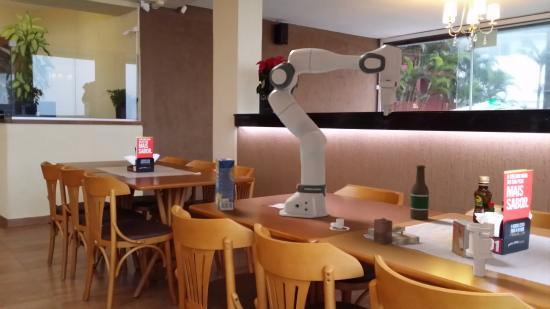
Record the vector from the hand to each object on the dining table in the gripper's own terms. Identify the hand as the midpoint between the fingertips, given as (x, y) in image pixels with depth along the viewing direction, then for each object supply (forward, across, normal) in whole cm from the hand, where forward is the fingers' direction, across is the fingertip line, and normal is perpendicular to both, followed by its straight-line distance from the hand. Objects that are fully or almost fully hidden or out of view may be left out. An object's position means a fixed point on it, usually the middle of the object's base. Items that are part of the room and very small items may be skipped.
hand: (387, 114), depth 210 cm
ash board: (+41, +43, +11) cm, 60 cm away
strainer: (+35, +78, +38) cm, 94 cm away
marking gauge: (+40, +48, +11) cm, 64 cm away
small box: (+38, +56, +35) cm, 76 cm away
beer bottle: (+46, -1, +17) cm, 49 cm away
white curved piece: (+44, +31, -10) cm, 55 cm away
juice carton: (+50, +12, -74) cm, 91 cm away
